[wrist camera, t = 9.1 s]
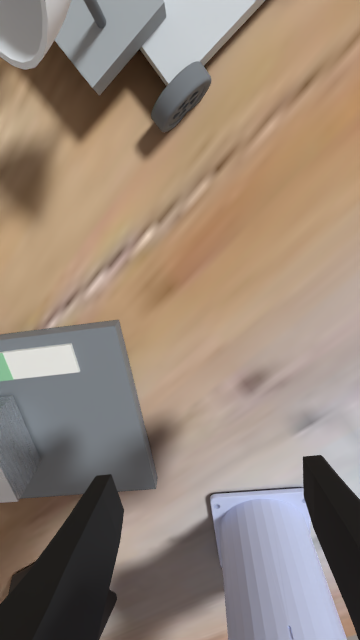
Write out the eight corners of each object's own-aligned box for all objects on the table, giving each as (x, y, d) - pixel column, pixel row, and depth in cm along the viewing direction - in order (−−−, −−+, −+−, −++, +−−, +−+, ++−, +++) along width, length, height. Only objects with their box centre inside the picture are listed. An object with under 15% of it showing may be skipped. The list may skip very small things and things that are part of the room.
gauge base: (157, 477, 24) (150, 536, 20) (-46, 492, 26) (-93, 549, 22) (118, 319, 19) (98, 354, 15) (-133, 351, 20) (-216, 390, 16)
